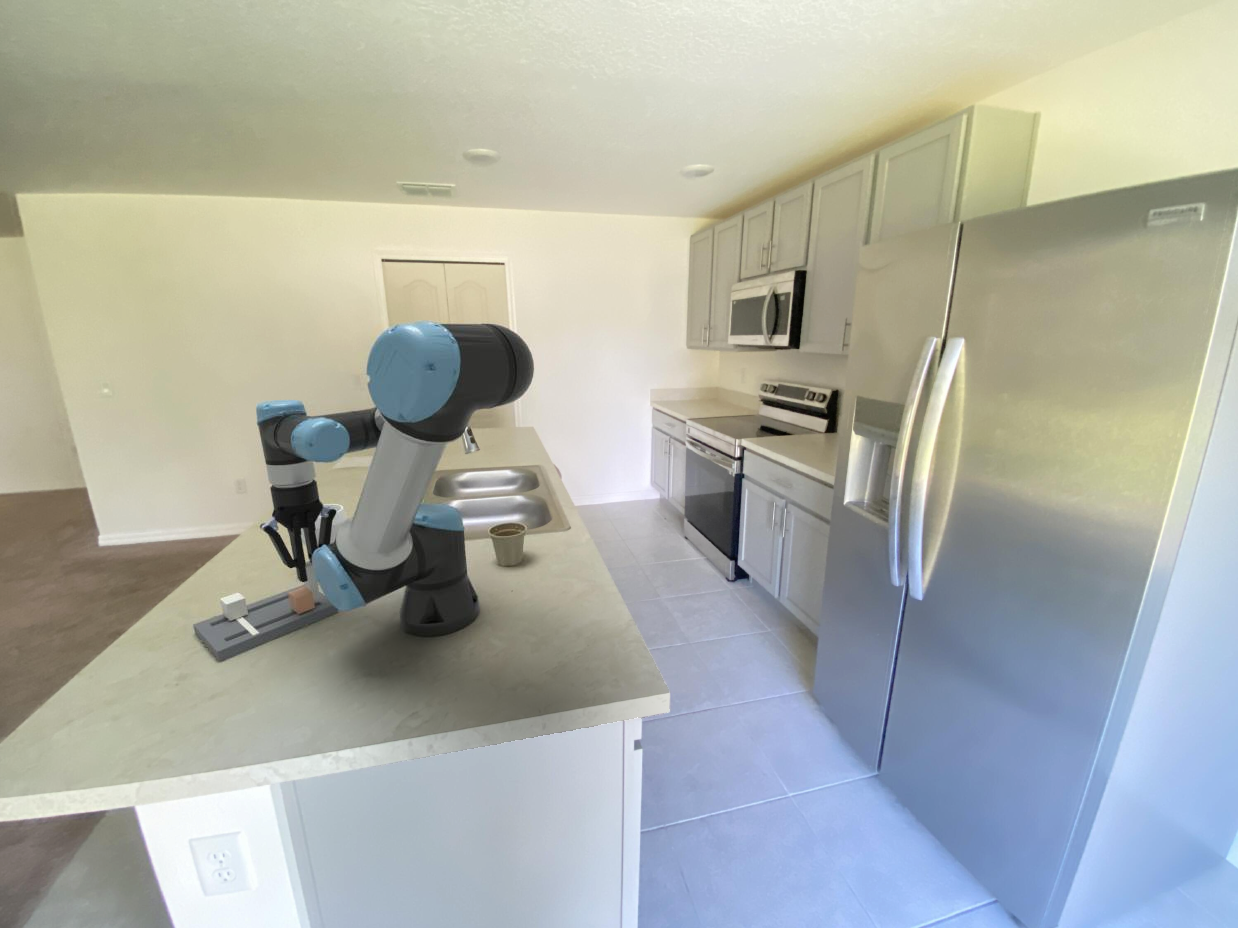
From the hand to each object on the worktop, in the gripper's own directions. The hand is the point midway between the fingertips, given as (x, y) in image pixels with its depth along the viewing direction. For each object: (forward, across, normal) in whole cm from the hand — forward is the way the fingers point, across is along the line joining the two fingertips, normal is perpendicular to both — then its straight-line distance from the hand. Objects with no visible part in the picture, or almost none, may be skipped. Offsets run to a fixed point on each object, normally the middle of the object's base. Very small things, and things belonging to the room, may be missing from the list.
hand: (312, 593), depth 101 cm
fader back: (+2, +11, -8) cm, 14 cm away
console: (+5, +7, -4) cm, 9 cm away
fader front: (+2, +2, 0) cm, 3 cm away
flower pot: (+5, -40, +13) cm, 42 cm away
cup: (+5, -11, -19) cm, 22 cm away
